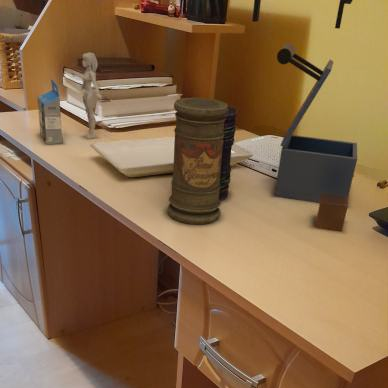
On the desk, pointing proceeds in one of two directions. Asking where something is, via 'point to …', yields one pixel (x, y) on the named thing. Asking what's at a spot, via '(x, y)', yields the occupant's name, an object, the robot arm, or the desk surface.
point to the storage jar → (227, 152)
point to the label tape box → (50, 116)
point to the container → (197, 160)
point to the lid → (287, 56)
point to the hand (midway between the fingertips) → (295, 24)
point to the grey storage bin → (315, 168)
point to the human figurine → (90, 90)
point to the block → (331, 212)
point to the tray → (150, 155)
